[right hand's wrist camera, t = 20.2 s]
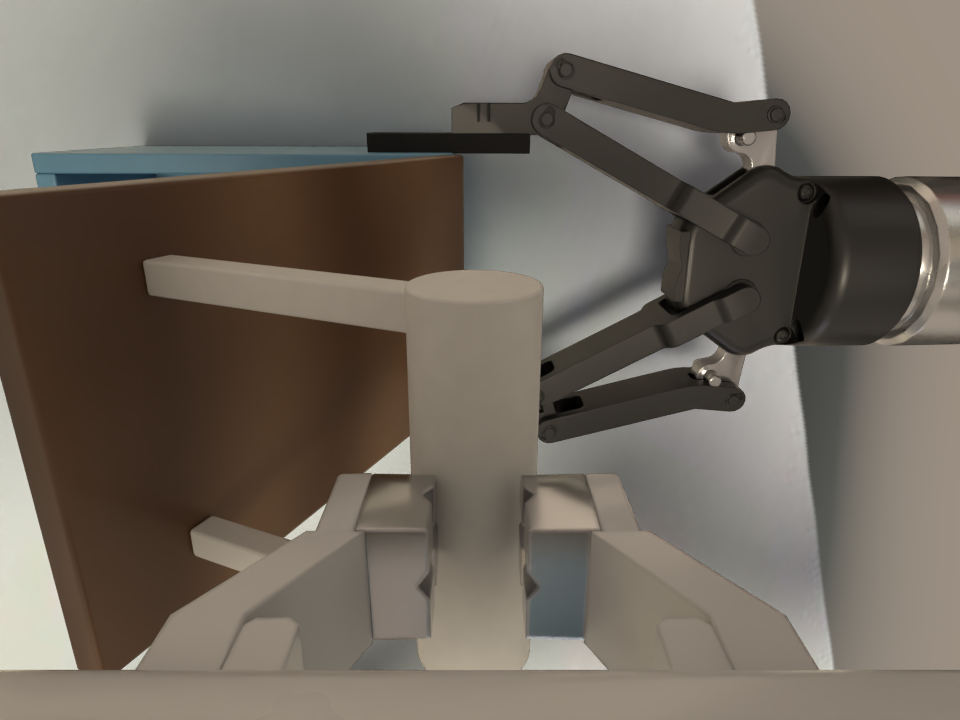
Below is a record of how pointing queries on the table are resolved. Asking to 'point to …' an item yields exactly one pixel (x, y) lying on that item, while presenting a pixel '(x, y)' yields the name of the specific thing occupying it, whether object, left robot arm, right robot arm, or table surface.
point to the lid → (263, 385)
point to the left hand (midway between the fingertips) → (377, 263)
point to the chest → (189, 161)
